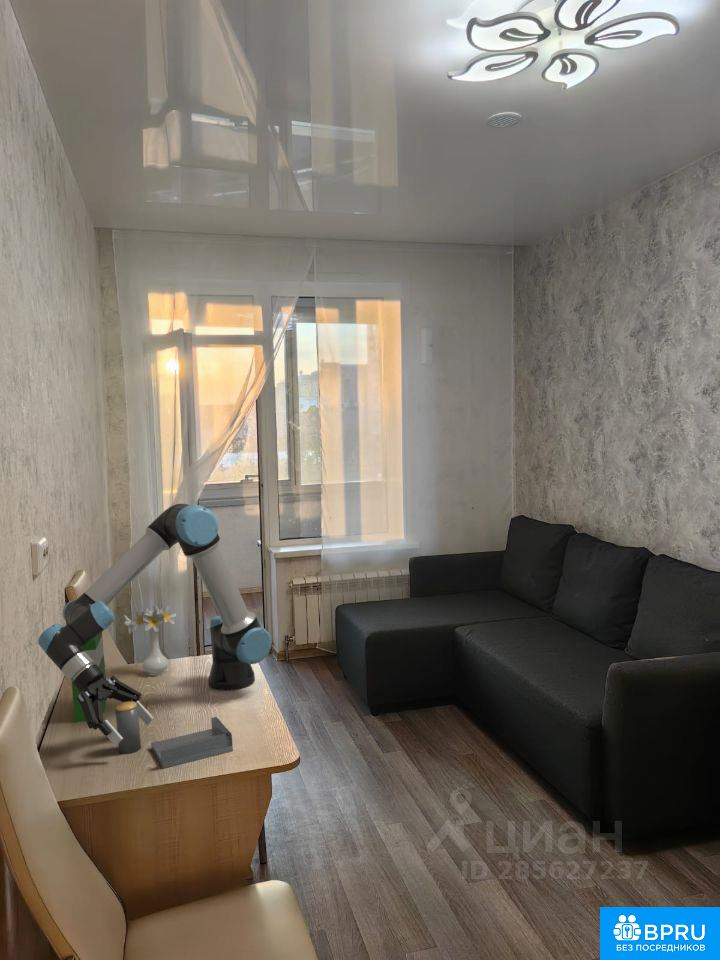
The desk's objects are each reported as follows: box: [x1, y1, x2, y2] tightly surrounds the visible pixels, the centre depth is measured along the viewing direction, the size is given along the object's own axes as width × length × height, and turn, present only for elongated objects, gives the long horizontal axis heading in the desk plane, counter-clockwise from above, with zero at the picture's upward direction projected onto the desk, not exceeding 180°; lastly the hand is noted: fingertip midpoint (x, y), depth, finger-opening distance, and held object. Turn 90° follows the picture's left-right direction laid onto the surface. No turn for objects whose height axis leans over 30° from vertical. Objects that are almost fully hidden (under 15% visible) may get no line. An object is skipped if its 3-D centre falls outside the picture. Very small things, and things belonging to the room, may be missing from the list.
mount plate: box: [150, 716, 234, 769], centre depth 193 cm, size 18×14×4 cm
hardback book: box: [71, 631, 108, 723], centre depth 225 cm, size 18×7×24 cm, turn 14°
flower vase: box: [124, 604, 177, 677], centre depth 258 cm, size 12×18×24 cm
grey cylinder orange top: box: [115, 701, 142, 755], centre depth 195 cm, size 6×6×12 cm
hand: (135, 731), depth 194 cm, fingers open, 13 cm apart
